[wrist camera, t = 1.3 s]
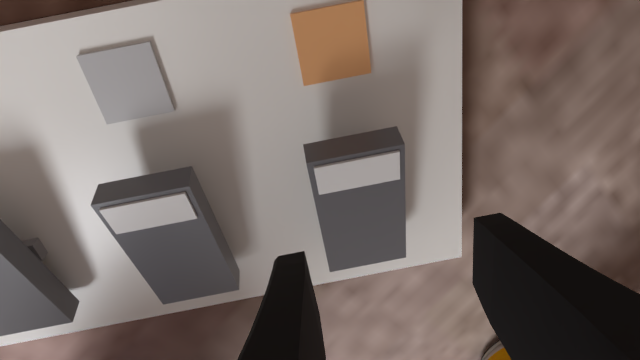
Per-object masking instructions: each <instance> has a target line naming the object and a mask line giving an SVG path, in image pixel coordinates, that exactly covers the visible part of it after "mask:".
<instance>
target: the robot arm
mask: <svg viewBox="0 0 640 360" xmlns="http://www.w3.org/2000/svg"><path fill="white" fill-rule="evenodd" d="M473 286H474V288H475V290H476V293H477V295H478V297H479V300H480V302H481V304H482V307H483V309H484V311H485V313H486V315H487V318H488V320H489V322H490V324H491V326H492V327H493V329H494V331H495V333H496V334H497V336H498V338H499V339H500V341H501V343H502V345H503V346H504V348H505V350H506V351H507V353H508V355H509V356H510V358H511V360H640V294H638V293H636V292H634V291H632V290H630V289H629V288H627V287H625V286H623V285H621V284H619V283H617V282H615V281H613V280H612V279H610V278H608V277H606V276H604V275H603V274H601V273H599V272H597V271H596V270H594V269H592V268H590V267H589V266H587V265H585V264H583V263H582V262H580V261H578V260H577V259H575V258H573V257H572V256H570V255H568V254H567V253H565V252H563V251H562V250H560V249H558V248H557V247H555V246H553V245H552V244H550V243H549V242H547V241H545V240H544V239H542V238H541V237H539V236H537V235H536V234H534V233H533V232H531V231H529V230H528V229H526V228H525V227H523V226H521V225H520V224H518V223H517V222H515V221H513V220H512V219H510V218H508V217H507V216H505V215H503V214H502V213H497V214H492V215H487V216H481V217H476V218H474V242H473ZM238 360H326V355H325V348H324V341H323V334H322V328H321V321H320V314H319V310H318V306H317V301H316V297H315V293H314V289H313V285H312V281H311V277H310V272H309V268H308V264H307V260H306V256H305V252H304V251H301V252H296V253H291V254H286V255H281V256H278V257H277V258H276V259H275V261H274V264H273V268H272V272H271V276H270V279H269V282H268V285H267V288H266V291H265V294H264V297H263V300H262V303H261V306H260V308H259V311H258V313H257V316H256V318H255V321H254V323H253V326H252V328H251V331H250V333H249V336H248V338H247V340H246V342H245V345H244V347H243V349H242V351H241V353H240V355H239V357H238Z"/></svg>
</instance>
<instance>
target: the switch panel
mask: <svg viewBox="0 0 640 360" xmlns="http://www.w3.org/2000/svg"><path fill="white" fill-rule="evenodd" d="M395 126H397V128H398V130H399V132H400V134H401V137H402V139H403V141H404V143H405V199H406V258H401V259H396V260H391V261H385V262H380V263H375V264H370V265H365V266H360V267H355V268H349V269H344V270H339V271H334V272H330V270H329V266H328V261H327V257H326V252H325V247H324V243H323V238H322V234H321V229H320V224H319V220H318V215H317V211H316V206H315V201H314V197H313V192H312V187H311V183H310V178H309V174H308V169H307V164H306V159H305V153H304V147H303V144H307V143H313V142H318V141H323V140H328V139H333V138H338V137H343V136H348V135H354V134H359V133H364V132H369V131H374V130H379V129H384V128H390V127H395ZM189 166H192V167H193V169H194V172H195V174H196V176H197V178H198V180H199V182H200V185H201V187H202V189H203V191H204V193H205V196H206V198H207V200H208V202H209V204H210V206H211V209H212V211H213V213H214V215H215V217H216V220H217V222H218V224H219V226H220V228H221V230H222V233H223V235H224V237H225V239H226V241H227V244H228V246H229V248H230V250H231V252H232V254H233V257H234V259H235V261H236V263H237V265H238V268H239V270H240V283H239V290H236V291H231V292H226V293H221V294H216V295H210V296H205V297H200V298H195V299H190V300H185V301H180V302H174V303H169V304H164V305H163V304H162V302H161V301H160V300H159V298H158V297H157V295H156V294H155V293H154V291H153V290H152V289H151V287H150V286H149V284H148V283H147V282H146V280H145V279H144V278H143V276H142V275H141V274H140V272H139V271H138V269H137V268H136V267H135V265H134V264H133V263H132V261H131V260H130V259H129V257H128V256H127V254H126V253H125V252H124V250H123V249H122V248H121V246H120V245H119V243H118V242H117V241H116V239H115V238H114V237H113V235H112V234H111V233H110V231H109V230H108V228H107V227H106V226H105V224H104V223H103V222H102V220H101V219H100V217H99V216H98V215H97V213H96V212H95V211H94V209H93V208H92V207H91V203H92V200H93V197H94V195H95V192H96V189H97V186H98V184H102V183H107V182H112V181H117V180H122V179H128V178H133V177H138V176H143V175H148V174H153V173H158V172H163V171H169V170H174V169H179V168H184V167H189ZM0 219H1V220H2V222H3V223H4V224H5V225H6V226H7V227H8V228H9V229H10V230H11V231H12V232H13V233H14V234H15V235H16V236H17V237H18V238H19V239H20V240H21V241H22V242H23V243H24V244H25V245H26V246H27V247H28V248H29V249H30V250H31V251H32V252H33V254H34V255H35V256H36V257H37V258H38V259H39V260H40V261H41V262H42V263H43V264H44V265H45V266H46V267H47V268H48V269H49V270H50V271H51V272H52V273H53V274H54V275H55V276H56V277H57V278H58V279H59V280H60V281H61V282H62V283H63V284H64V286H65V287H66V288H67V289H68V290H69V291H70V292H71V293H72V294H73V295H74V296H75V297H76V298H77V299H78V300H79V301H80V302H79V305H78V308H77V311H76V314H75V317H74V320H73V322H72V323H66V324H61V325H56V326H51V327H46V328H41V329H36V330H30V331H25V332H20V333H15V334H10V335H5V336H0V346H5V345H10V344H15V343H21V342H26V341H31V340H36V339H41V338H46V337H51V336H57V335H62V334H67V333H72V332H77V331H82V330H88V329H93V328H98V327H103V326H108V325H113V324H118V323H124V322H129V321H134V320H139V319H144V318H149V317H154V316H160V315H165V314H170V313H175V312H180V311H185V310H190V309H196V308H201V307H206V306H211V305H216V304H221V303H226V302H232V301H237V300H242V299H247V298H252V297H257V296H262V295H264V294H265V291H266V288H267V285H268V282H269V279H270V276H271V272H272V268H273V264H274V261H275V259H276V258H277V257H278V256H281V255H286V254H291V253H296V252H301V251H304V252H305V256H306V260H307V264H308V268H309V272H310V277H311V281H312V285H313V286H314V285H319V284H324V283H329V282H334V281H340V280H345V279H350V278H355V277H360V276H365V275H371V274H376V273H381V272H386V271H391V270H396V269H401V268H407V267H412V266H417V265H422V264H427V263H432V262H437V261H443V260H448V259H453V258H458V257H462V0H132V1H127V2H122V3H117V4H112V5H106V6H101V7H96V8H91V9H86V10H81V11H76V12H71V13H65V14H60V15H55V16H50V17H45V18H40V19H35V20H29V21H24V22H19V23H14V24H9V25H4V26H0Z"/></svg>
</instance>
